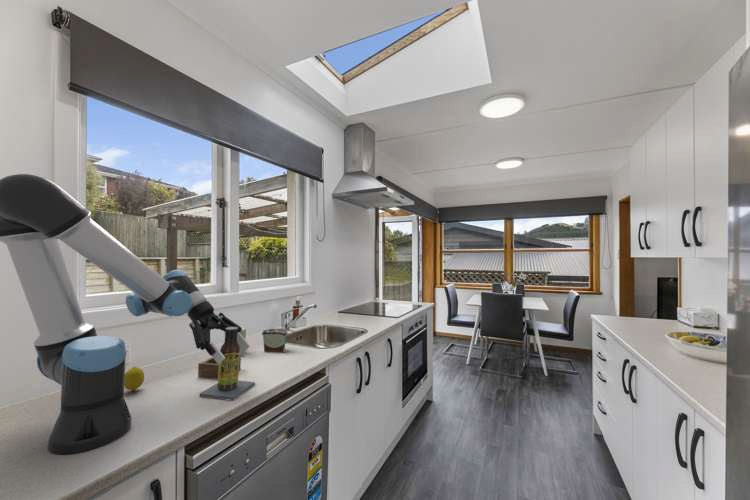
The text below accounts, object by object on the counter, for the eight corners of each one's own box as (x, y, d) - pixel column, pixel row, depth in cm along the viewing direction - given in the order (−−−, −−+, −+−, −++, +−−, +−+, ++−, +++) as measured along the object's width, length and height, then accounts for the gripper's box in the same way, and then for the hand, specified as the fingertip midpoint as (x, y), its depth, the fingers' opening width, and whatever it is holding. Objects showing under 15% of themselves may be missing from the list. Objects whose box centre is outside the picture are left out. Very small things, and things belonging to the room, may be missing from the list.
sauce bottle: (217, 393, 98) (220, 330, 99) (216, 385, 104) (219, 326, 104) (239, 389, 102) (242, 329, 102) (237, 382, 107) (239, 325, 108)
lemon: (147, 388, 103) (148, 364, 103) (130, 395, 98) (131, 370, 98) (135, 386, 105) (136, 363, 105) (118, 393, 99) (119, 368, 100)
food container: (291, 349, 150) (291, 328, 150) (286, 353, 144) (286, 331, 144) (267, 348, 151) (267, 327, 151) (261, 352, 145) (261, 330, 145)
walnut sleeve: (223, 379, 112) (223, 365, 112) (198, 377, 114) (198, 363, 114) (240, 369, 122) (240, 356, 122) (217, 367, 124) (217, 354, 124)
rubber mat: (233, 400, 96) (233, 397, 96) (199, 396, 98) (199, 393, 98) (254, 384, 108) (254, 382, 108) (224, 381, 110) (224, 379, 110)
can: (223, 352, 143) (224, 326, 144) (245, 350, 147) (245, 325, 148) (223, 358, 135) (224, 331, 135) (246, 355, 139) (246, 329, 139)
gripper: (215, 309, 119) (249, 350, 115) (159, 322, 94) (200, 375, 91) (228, 295, 118) (262, 337, 115) (174, 305, 93) (217, 359, 90)
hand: (235, 354), depth 103 cm, fingers open, 13 cm apart
